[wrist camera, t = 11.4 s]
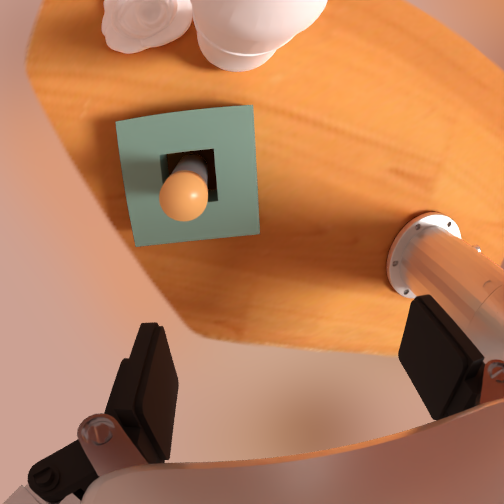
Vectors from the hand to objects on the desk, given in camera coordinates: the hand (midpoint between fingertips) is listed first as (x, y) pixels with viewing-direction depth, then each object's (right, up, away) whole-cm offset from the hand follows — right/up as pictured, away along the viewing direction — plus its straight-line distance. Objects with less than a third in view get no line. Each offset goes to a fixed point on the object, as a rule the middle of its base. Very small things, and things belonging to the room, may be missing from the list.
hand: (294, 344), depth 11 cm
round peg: (-7, +12, +20) cm, 25 cm away
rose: (-12, +27, +13) cm, 32 cm away
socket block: (-8, +12, +20) cm, 25 cm away
